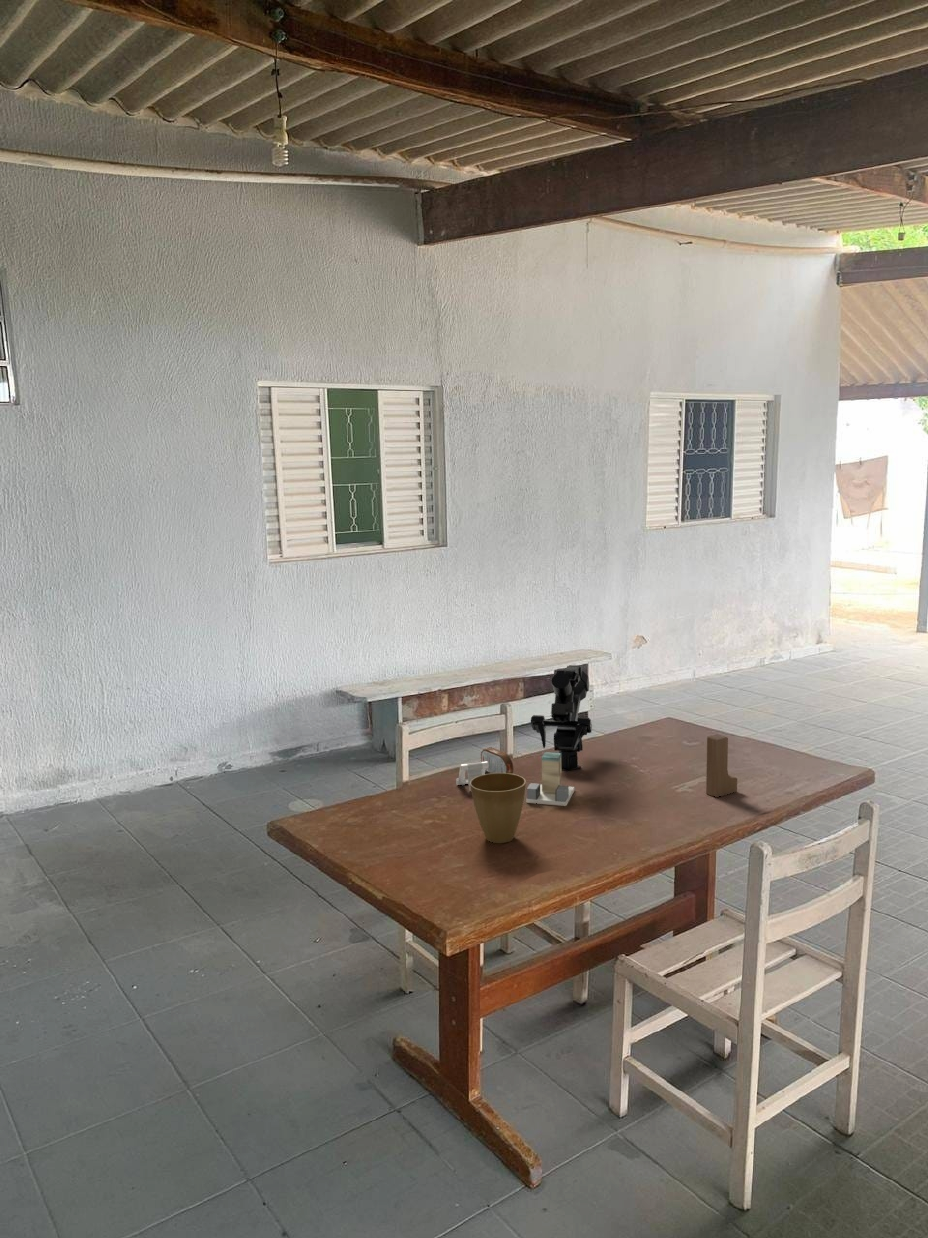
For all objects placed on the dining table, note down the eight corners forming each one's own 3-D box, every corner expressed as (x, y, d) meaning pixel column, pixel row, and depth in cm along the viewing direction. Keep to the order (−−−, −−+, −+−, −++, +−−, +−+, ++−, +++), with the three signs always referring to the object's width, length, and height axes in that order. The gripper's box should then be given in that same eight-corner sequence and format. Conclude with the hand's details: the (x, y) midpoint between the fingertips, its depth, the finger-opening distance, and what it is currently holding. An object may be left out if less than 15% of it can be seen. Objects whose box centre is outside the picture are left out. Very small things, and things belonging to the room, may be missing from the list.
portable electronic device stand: (481, 781, 295) (481, 756, 294) (490, 789, 288) (489, 763, 286) (456, 785, 292) (455, 759, 291) (464, 793, 285) (463, 766, 284)
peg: (545, 786, 284) (545, 752, 282) (561, 787, 282) (561, 753, 281) (541, 792, 279) (541, 757, 277) (558, 793, 278) (558, 758, 276)
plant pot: (497, 823, 259) (496, 768, 256) (538, 837, 248) (537, 780, 246) (459, 839, 249) (458, 782, 246) (500, 854, 238) (498, 794, 236)
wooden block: (726, 788, 283) (727, 731, 280) (737, 792, 279) (738, 734, 277) (705, 794, 278) (706, 736, 276) (717, 798, 275) (718, 739, 272)
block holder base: (536, 787, 288) (535, 774, 287) (574, 790, 284) (574, 777, 283) (526, 802, 275) (526, 788, 274) (566, 806, 271) (566, 791, 271)
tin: (514, 780, 295) (514, 754, 294) (506, 782, 294) (506, 756, 292) (487, 768, 308) (486, 744, 306) (479, 770, 306) (478, 746, 305)
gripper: (530, 690, 290) (525, 735, 282) (590, 692, 285) (586, 738, 277) (535, 707, 299) (530, 751, 291) (593, 709, 294) (589, 754, 286)
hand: (558, 748), depth 286 cm, fingers open, 9 cm apart
